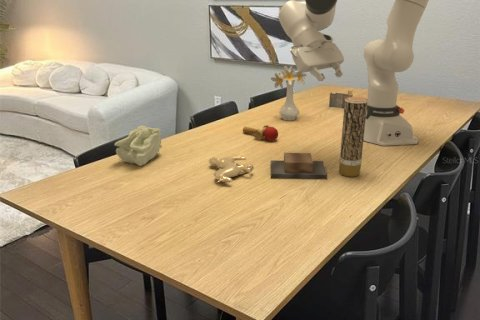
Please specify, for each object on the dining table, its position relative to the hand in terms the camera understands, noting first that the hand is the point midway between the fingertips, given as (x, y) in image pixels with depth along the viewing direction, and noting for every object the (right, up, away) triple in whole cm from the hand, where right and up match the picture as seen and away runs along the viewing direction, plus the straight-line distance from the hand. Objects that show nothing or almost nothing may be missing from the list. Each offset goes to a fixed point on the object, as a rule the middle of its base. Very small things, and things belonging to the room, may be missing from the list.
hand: (331, 77), depth 133 cm
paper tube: (+7, -31, +4) cm, 32 cm away
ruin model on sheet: (+24, +1, +86) cm, 90 cm away
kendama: (-21, -17, +41) cm, 49 cm away
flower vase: (-6, -7, +66) cm, 66 cm away
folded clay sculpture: (-64, -27, +17) cm, 72 cm away
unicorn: (-27, -27, +9) cm, 39 cm away
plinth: (-10, -30, +6) cm, 32 cm away
